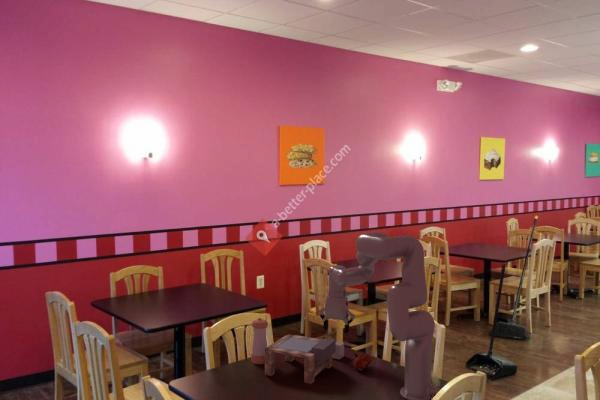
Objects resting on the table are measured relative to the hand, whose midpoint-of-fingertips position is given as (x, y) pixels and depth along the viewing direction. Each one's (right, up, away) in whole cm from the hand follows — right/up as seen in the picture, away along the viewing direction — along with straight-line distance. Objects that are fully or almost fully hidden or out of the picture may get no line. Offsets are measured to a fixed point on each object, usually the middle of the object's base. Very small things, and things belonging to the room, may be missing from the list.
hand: (336, 331), depth 237 cm
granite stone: (0, -12, 0) cm, 12 cm away
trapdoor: (-14, -4, -18) cm, 23 cm away
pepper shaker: (-34, -12, -5) cm, 36 cm away
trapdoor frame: (-17, -12, -16) cm, 26 cm away
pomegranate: (+10, -13, -16) cm, 23 cm away
